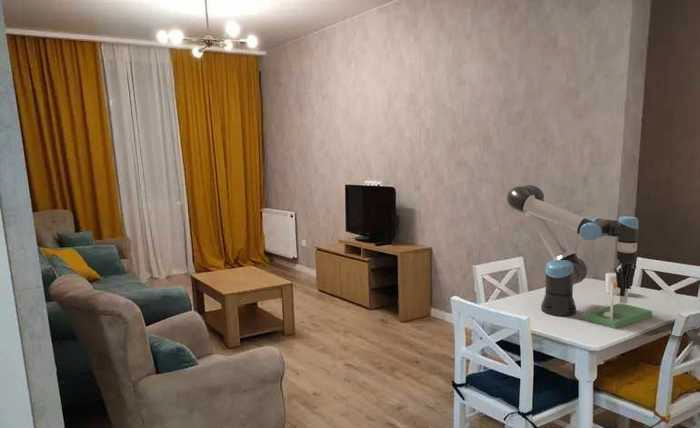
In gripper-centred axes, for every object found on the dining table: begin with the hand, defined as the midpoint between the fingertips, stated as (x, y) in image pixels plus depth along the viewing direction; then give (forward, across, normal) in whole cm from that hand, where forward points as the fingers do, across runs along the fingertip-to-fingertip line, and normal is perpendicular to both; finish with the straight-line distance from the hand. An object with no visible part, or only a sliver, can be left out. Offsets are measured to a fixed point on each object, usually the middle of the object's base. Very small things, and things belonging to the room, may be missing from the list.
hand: (623, 302), depth 212 cm
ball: (+4, -12, -1) cm, 13 cm away
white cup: (+7, +31, +23) cm, 39 cm away
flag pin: (+4, -16, -5) cm, 17 cm away
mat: (+6, -5, -1) cm, 8 cm away
